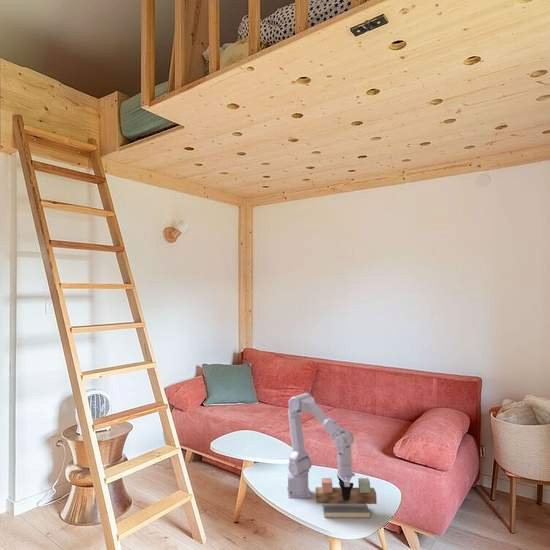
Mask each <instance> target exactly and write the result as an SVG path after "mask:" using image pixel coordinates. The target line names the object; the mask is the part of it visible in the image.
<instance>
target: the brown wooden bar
mask: <svg viewBox="0 0 550 550" xmlns="http://www.w3.org/2000/svg"><path fill="white" fill-rule="evenodd" d="M332 487H333V486H332ZM315 502H316V504H322V505H323V504H367V505H377V502H378V501H377V491H376V489H375V487H370V493H360V490H359V487H353V488H352V490H351V493H350V498H349V501H344V499H343V494H342V490H341V487H340V486H339V487H338V486H337V487H333V493H323V492H322V486H321V487H319V486H318V487H316V486H315Z"/></svg>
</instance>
